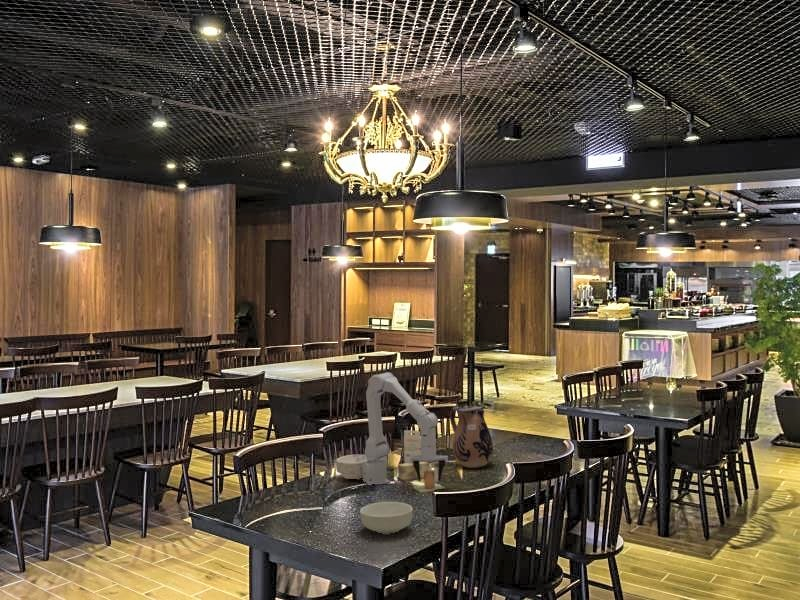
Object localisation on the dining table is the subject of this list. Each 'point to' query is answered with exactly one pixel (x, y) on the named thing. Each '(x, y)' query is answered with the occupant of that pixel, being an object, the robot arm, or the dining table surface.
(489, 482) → the dining table surface
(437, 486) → the mat
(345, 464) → the paper bowls
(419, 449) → the ink cartridge box
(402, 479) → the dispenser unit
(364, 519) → the cereal bowl
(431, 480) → the terracotta cap
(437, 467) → the grey shiny short cylinder
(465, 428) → the ceramic pitcher
